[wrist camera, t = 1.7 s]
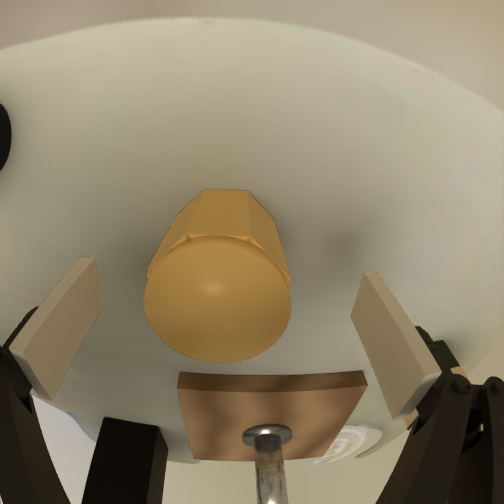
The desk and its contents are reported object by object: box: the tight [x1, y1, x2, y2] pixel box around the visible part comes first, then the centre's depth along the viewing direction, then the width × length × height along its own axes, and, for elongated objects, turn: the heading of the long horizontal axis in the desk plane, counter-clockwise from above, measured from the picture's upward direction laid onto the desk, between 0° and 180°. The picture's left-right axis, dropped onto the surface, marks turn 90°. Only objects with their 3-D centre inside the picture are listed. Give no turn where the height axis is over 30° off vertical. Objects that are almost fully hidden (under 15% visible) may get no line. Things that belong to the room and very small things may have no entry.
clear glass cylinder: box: [242, 424, 292, 504], centre depth 23 cm, size 6×6×10 cm
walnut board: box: [177, 371, 368, 461], centre depth 29 cm, size 18×18×2 cm
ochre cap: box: [144, 189, 291, 363], centre depth 15 cm, size 6×6×8 cm
